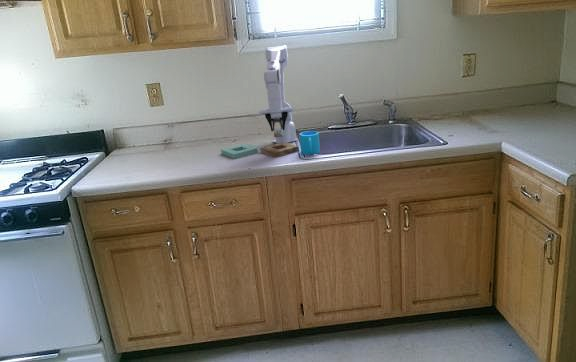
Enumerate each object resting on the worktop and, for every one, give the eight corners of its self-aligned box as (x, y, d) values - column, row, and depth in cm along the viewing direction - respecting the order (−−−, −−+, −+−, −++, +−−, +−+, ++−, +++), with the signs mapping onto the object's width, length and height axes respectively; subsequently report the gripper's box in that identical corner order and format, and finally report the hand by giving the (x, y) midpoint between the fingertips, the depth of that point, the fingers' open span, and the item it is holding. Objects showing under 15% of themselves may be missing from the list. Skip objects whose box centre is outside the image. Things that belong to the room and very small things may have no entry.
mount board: (283, 146, 206) (282, 142, 206) (298, 150, 197) (298, 146, 196) (261, 152, 200) (260, 147, 199) (276, 157, 190) (275, 152, 190)
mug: (301, 150, 198) (299, 131, 195) (319, 148, 197) (318, 130, 195) (301, 157, 186) (299, 138, 184) (320, 156, 186) (319, 137, 183)
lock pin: (279, 134, 199) (278, 116, 196) (285, 135, 195) (284, 117, 193) (271, 136, 197) (269, 118, 194) (277, 138, 193) (275, 119, 190)
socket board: (244, 148, 210) (244, 143, 209) (258, 152, 200) (257, 148, 199) (221, 153, 203) (221, 149, 203) (234, 158, 194) (233, 154, 193)
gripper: (257, 102, 186) (261, 134, 191) (292, 98, 187) (295, 130, 192) (257, 99, 193) (260, 130, 198) (290, 96, 194) (293, 126, 198)
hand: (277, 130), depth 195 cm, fingers closed on lock pin, 4 cm apart
